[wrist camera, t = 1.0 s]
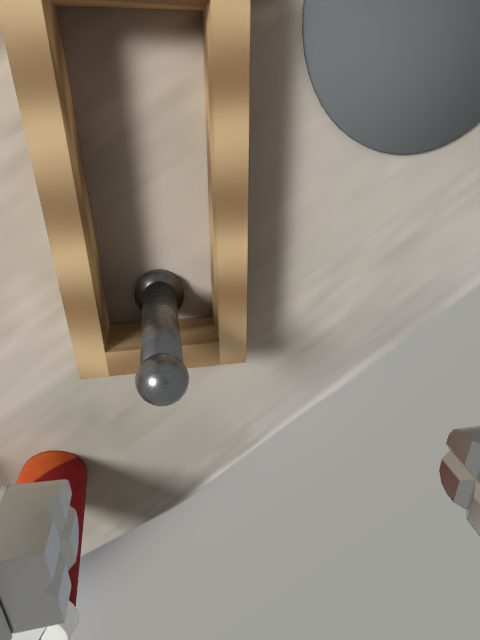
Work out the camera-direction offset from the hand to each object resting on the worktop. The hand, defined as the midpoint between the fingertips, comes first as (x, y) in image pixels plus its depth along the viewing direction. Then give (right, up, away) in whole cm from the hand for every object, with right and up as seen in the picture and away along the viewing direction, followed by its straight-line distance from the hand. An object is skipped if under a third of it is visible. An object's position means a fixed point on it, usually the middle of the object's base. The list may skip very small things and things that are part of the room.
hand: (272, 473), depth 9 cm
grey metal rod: (-7, +5, +23) cm, 25 cm away
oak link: (-7, +12, +20) cm, 24 cm away
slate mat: (+11, +22, +18) cm, 30 cm away
